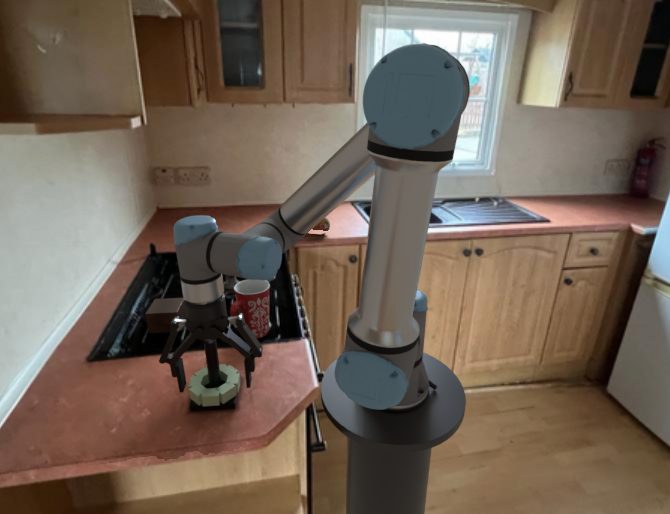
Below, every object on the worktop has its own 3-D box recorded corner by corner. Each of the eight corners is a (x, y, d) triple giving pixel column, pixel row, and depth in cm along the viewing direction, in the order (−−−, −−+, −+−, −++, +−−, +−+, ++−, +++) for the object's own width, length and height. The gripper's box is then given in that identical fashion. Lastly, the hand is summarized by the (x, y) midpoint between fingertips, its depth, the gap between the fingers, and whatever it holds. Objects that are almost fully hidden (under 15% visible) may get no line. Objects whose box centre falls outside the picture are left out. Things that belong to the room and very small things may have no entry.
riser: (187, 316, 116) (184, 297, 114) (179, 331, 109) (176, 312, 107) (158, 317, 116) (154, 298, 114) (148, 333, 108) (145, 313, 106)
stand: (241, 379, 92) (235, 327, 87) (235, 408, 83) (229, 353, 78) (199, 381, 91) (192, 329, 86) (190, 411, 82) (181, 355, 78)
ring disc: (242, 371, 92) (241, 363, 91) (236, 404, 82) (235, 394, 81) (196, 374, 91) (195, 365, 90) (185, 407, 81) (183, 398, 81)
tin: (296, 233, 181) (295, 215, 178) (298, 231, 184) (297, 213, 181) (329, 236, 178) (328, 217, 175) (330, 233, 181) (330, 215, 178)
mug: (253, 318, 115) (249, 275, 110) (279, 327, 111) (276, 282, 106) (221, 342, 105) (215, 295, 100) (248, 352, 101) (244, 304, 96)
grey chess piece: (233, 300, 125) (229, 264, 121) (219, 296, 128) (214, 260, 123) (246, 292, 130) (243, 257, 125) (232, 288, 132) (228, 254, 128)
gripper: (270, 284, 83) (276, 370, 91) (143, 290, 81) (160, 377, 89) (268, 302, 76) (275, 394, 84) (129, 309, 74) (149, 402, 82)
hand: (216, 385), depth 86 cm, fingers open, 13 cm apart
